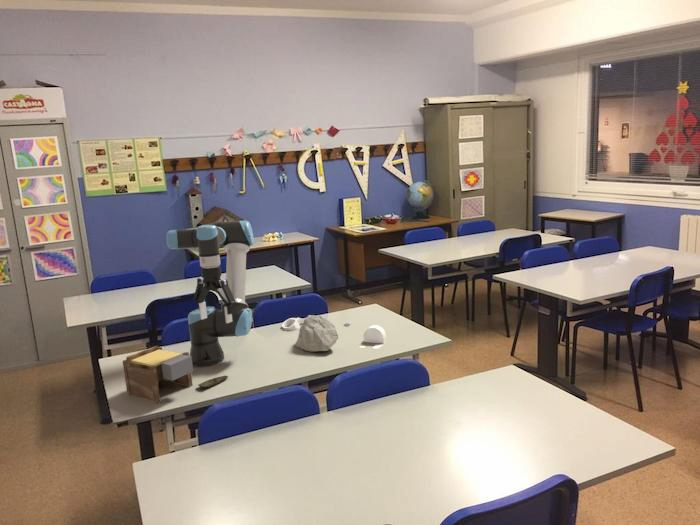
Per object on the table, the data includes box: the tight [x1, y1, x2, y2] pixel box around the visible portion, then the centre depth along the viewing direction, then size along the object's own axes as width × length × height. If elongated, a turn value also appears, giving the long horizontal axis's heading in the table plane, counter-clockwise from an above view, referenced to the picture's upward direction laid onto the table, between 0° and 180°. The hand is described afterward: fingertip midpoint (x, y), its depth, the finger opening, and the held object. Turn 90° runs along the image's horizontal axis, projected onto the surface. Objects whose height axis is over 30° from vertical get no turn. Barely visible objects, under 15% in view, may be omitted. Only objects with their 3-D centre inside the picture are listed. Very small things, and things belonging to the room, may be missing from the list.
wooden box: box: [122, 345, 193, 404], centre depth 221 cm, size 17×17×15 cm
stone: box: [197, 375, 229, 388], centre depth 225 cm, size 13×5×2 cm, turn 143°
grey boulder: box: [295, 314, 339, 353], centre depth 256 cm, size 22×13×15 cm, turn 54°
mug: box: [281, 317, 305, 331], centre depth 289 cm, size 12×9×10 cm
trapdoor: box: [131, 349, 194, 381], centre depth 218 cm, size 13×21×6 cm, turn 57°
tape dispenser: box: [360, 324, 387, 350], centre depth 261 cm, size 10×18×11 cm, turn 158°
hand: (216, 320), depth 220 cm, fingers open, 13 cm apart
